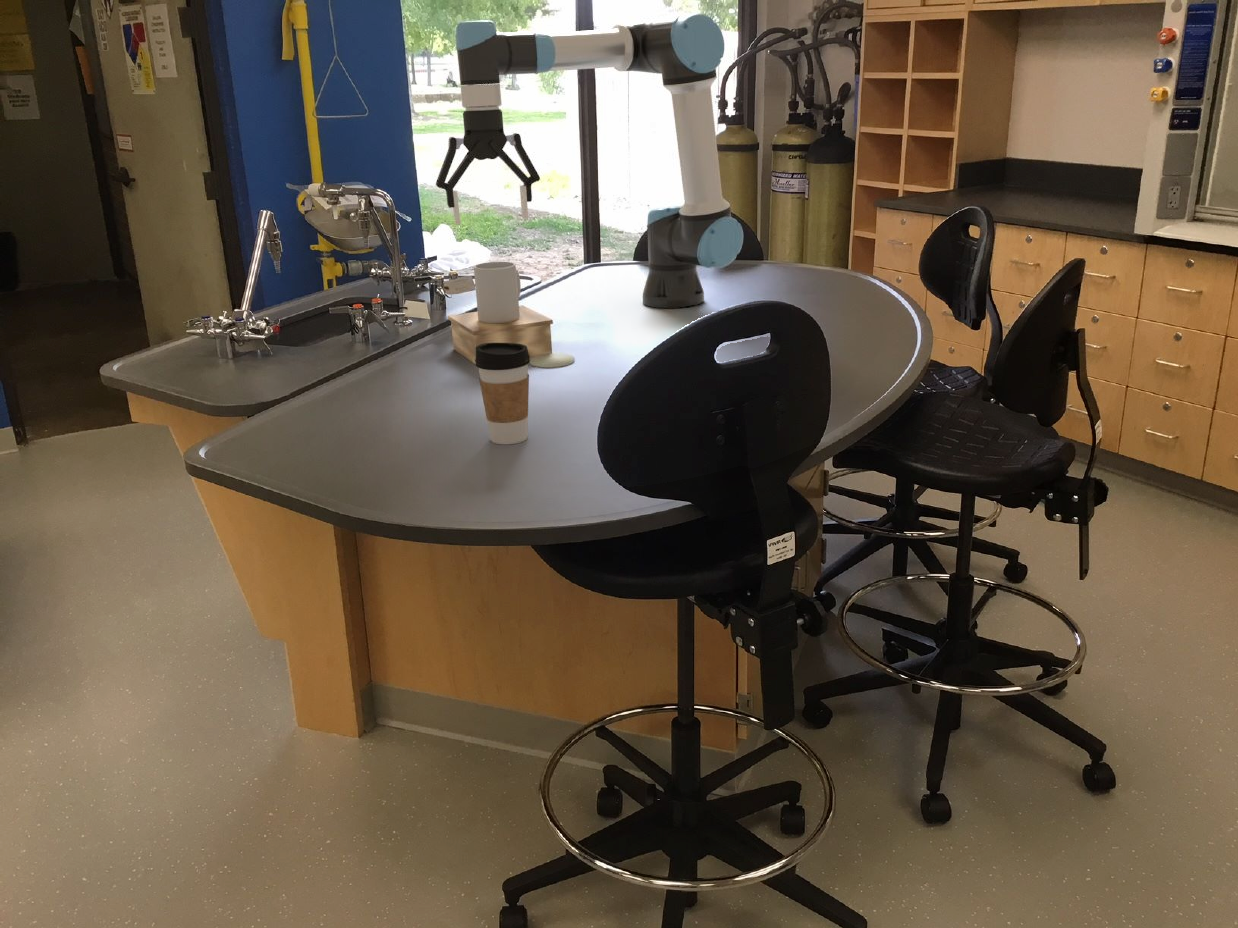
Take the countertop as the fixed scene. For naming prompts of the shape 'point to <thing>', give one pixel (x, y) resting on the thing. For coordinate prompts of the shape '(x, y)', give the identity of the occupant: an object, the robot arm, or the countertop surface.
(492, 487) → the countertop surface
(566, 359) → the felt coaster
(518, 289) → the mug
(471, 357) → the maple box
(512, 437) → the coffee cup
